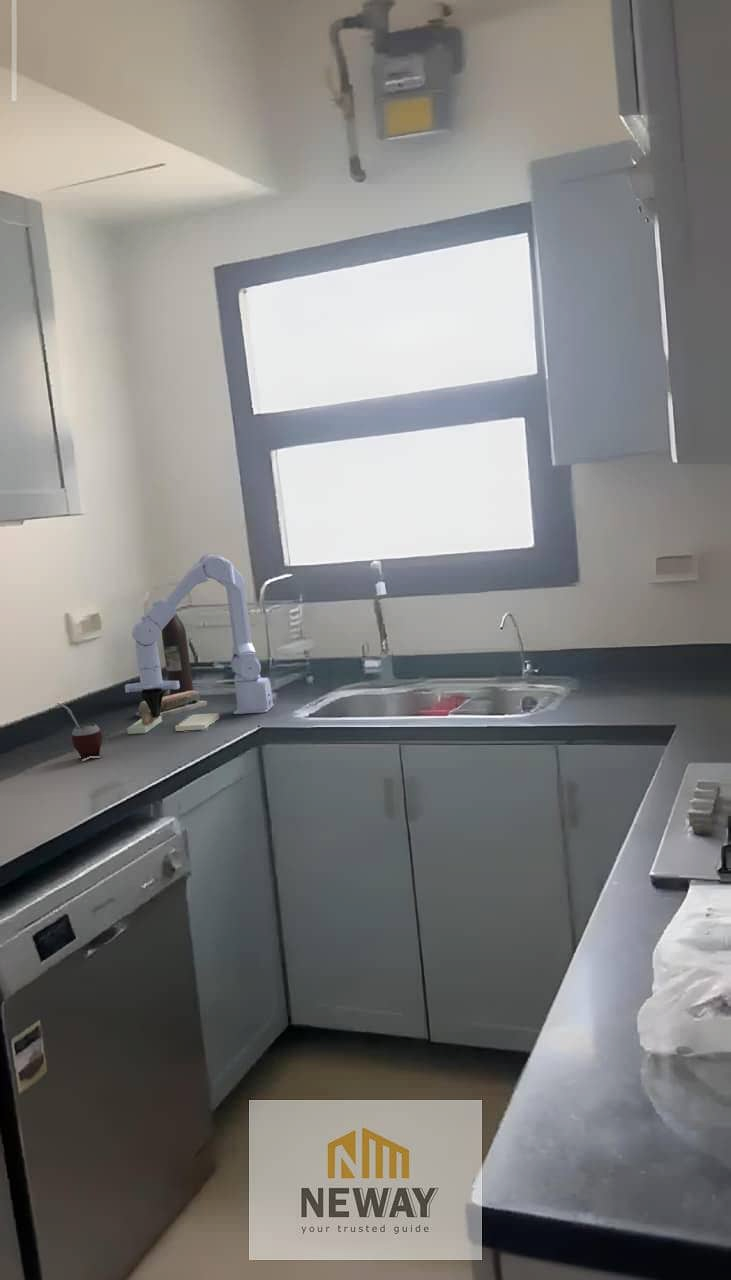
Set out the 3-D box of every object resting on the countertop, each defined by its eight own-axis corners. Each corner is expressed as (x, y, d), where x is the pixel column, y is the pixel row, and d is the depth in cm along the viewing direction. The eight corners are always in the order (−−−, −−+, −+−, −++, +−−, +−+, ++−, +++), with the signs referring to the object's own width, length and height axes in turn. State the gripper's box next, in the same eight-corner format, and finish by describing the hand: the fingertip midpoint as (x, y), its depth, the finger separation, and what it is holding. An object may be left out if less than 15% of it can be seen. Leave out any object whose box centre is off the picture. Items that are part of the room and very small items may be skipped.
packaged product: (150, 704, 292) (133, 700, 300) (152, 721, 293) (135, 717, 301) (206, 690, 304) (188, 686, 311) (208, 706, 304) (190, 703, 312)
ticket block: (219, 718, 286) (218, 712, 286) (205, 730, 275) (204, 724, 274) (191, 720, 288) (190, 714, 288) (175, 731, 276) (175, 725, 276)
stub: (162, 721, 289) (159, 705, 289) (145, 732, 278) (143, 717, 277) (144, 722, 290) (142, 706, 289) (127, 734, 279) (125, 718, 278)
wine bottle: (167, 697, 321) (154, 599, 316) (190, 693, 324) (177, 595, 319) (173, 701, 315) (160, 601, 310) (196, 696, 318) (183, 597, 312)
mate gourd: (110, 754, 261) (101, 694, 258) (90, 763, 253) (80, 702, 251) (86, 753, 264) (77, 694, 261) (65, 763, 257) (55, 702, 254)
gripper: (117, 671, 278) (125, 722, 280) (170, 668, 275) (177, 719, 278) (128, 666, 285) (135, 715, 287) (179, 662, 282) (186, 712, 284)
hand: (156, 716), depth 283 cm, fingers closed
